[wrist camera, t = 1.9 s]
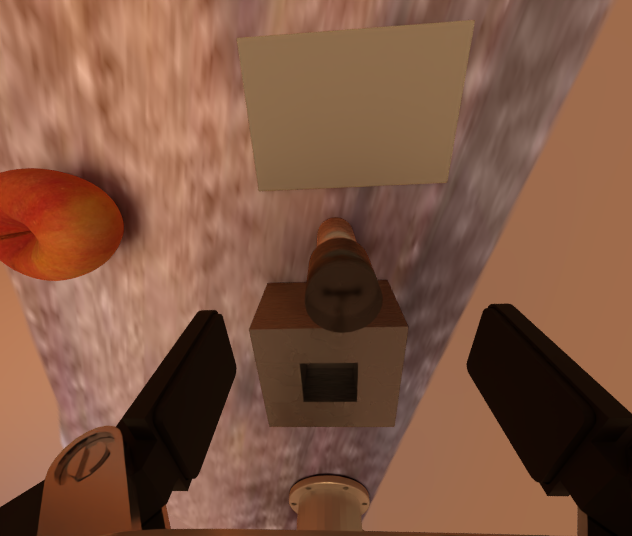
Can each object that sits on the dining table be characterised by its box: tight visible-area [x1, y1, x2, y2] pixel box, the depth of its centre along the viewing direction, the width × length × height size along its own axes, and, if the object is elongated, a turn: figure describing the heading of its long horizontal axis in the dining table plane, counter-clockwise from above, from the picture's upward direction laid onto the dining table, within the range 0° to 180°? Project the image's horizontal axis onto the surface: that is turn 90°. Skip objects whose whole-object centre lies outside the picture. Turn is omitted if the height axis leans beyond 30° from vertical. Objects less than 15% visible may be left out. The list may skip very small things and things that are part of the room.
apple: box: [0, 168, 124, 281], centre depth 18 cm, size 7×7×8 cm
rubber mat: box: [237, 20, 475, 191], centre depth 17 cm, size 9×14×1 cm, turn 93°
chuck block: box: [249, 280, 408, 427], centre depth 23 cm, size 11×11×6 cm
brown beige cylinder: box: [304, 217, 383, 333], centre depth 17 cm, size 4×4×10 cm
